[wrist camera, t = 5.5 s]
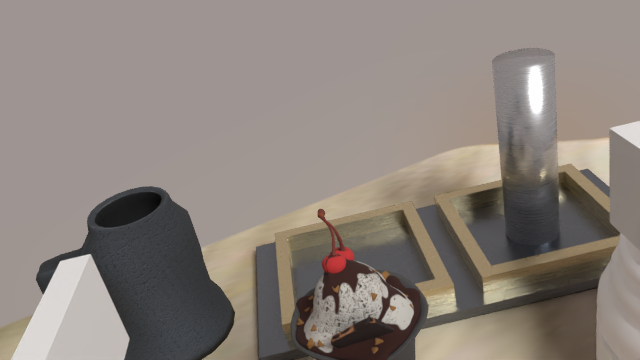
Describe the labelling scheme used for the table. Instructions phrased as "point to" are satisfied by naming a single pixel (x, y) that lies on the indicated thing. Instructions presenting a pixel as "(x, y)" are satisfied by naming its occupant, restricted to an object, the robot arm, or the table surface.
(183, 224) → the mug
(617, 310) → the honey pot
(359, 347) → the sundae
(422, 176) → the table surface
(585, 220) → the olive compartment tray
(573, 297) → the table surface
